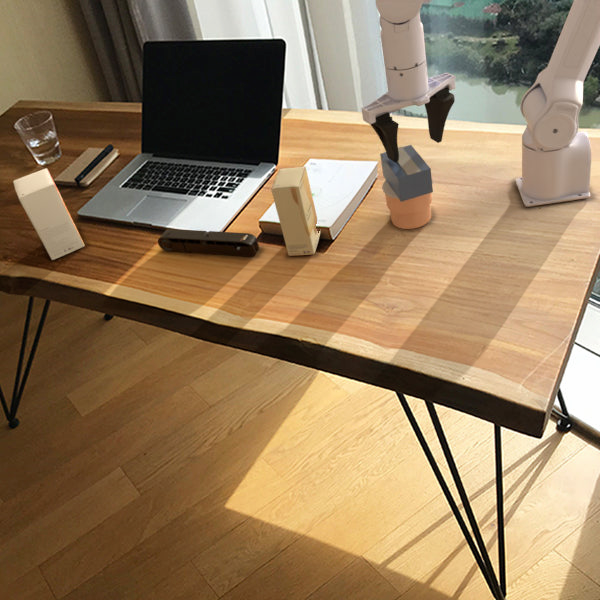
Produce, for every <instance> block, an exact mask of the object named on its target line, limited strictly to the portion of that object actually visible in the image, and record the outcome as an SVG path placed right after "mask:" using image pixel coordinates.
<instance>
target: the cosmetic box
mask: <svg viewBox="0 0 600 600" xmlns="http://www.w3.org/2000/svg"><path fill="white" fill-rule="evenodd" d="M308 175H309V174H308V172H307V167H306V166H296V167H283V168H281V167H280V168H279V169H278V171H277V173H276V176H275V177H274V180H273V183H272V186H271V188H270V190H271V195H272V198H273V202H274V206H275V209H276V213H277V217H278V221H279V224H280V225H279V226H280V229H281V232H282V236H283V239H284V240H283V241H284V244H285V247H286V252H287V255H288V256H289V257H291V256H294V257H295V256H309V255H315V253H316V251H317V247H318V244H319V241H320V236H321V230H320V231H319V233H318V231H317V229H316V224H317V219H318V216H317V211H316V207H315V202H314V198H313V194H312V188H311V184H310V180H309V176H308Z"/></svg>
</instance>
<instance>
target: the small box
mask: <svg viewBox="0 0 600 600" xmlns="http://www.w3.org/2000/svg"><path fill="white" fill-rule="evenodd" d="M13 186H14V190H15V193H16V195H17V197H18V200H19V203H20V205H21V206H22V207H23V209H24V211H25V213H26V215H27V217H28V219H29V221H30V223H31V224H32V226H33V228H34V230H35V232H36V233H37V235H38V237H39V239H40V240H41V242H42V245H43V246H44V248H45V250H46V252H47V254H48V256H49V258H50V259H51V261H54V260H56V259H59V258H61V257H64V256H66V255H68V254H71V253H73V252H75V251H78V250H79V249H82V248H84V247H85V246H86V245H85V243H84V241H83V239H82V236H81V235H80V233H79V230H78V227H76V224H75V223H74V220H73V218H72V215H71V214H70V211H69V210H68V207H67V206H66V204H65V201H64V199H63V197H62V195H61V193H60V191H59V189H58V187H57V185H56V183H55V180H54V179H53V177H52V175H51V173H50V171H49V169H48V168H47V167H46V168H43V169H41V170H38V171H35V172H33V173H30V174H27V175H24V176H22V177H19V178H16V179H14V180H13Z"/></svg>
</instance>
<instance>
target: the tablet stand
mask: <svg viewBox="0 0 600 600" xmlns="http://www.w3.org/2000/svg"><path fill="white" fill-rule="evenodd" d="M157 245H158V246H159V248H160V249H161V250H163V251H165V252H169V253H170V252H171V253H187V254H192V253H195V254H209V255H210V254H211V255H222V256H223V255H224V256H236V257H238V256H239V257H255V256H256V255H257V252H259V250H260V245H259V242H258V237H256V235H254V234H253V233H249V232H234V231H233V232H232V231H216V230H215V231H213V230H209V231H207V230H198V229H197V230H195V229H177V228H176V229H175V228H168V229H165V231H164V232H163V233H162V234H161V235H160V237H159V238H158V239H157Z"/></svg>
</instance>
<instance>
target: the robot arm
mask: <svg viewBox="0 0 600 600" xmlns="http://www.w3.org/2000/svg"><path fill="white" fill-rule="evenodd" d="M428 1H429V0H375V6H376V10H377V12H378V14H379V20H378V21H379V27H380V33H379V35H380V42H381V49H382V57H383V65H384V72H385V80H386V87H387V91H386V92H385V93H384V94H382V95H381V96H379V97H378V98H376V99H375V100H374V101H372V102H370V103H369V104H367V105H365V106H363V107H361V115H362V120H363V121H364V122H365V123H367V124H368V125H370V126H371V128H372V129H373V130H374V132H375V133H376V135H377V136H378V138H379V140H380V142H381V144H382V146H383V148H384V151H385V152H386V153H387V156H388V158H389V159H391V160H392V161H394V162H396V161H398V160H399V152H398V148H399V145H398V132H399V125H400V124H399V123H398V122H396V121H395V120H393V116H391V114H393V113H395V112H398V111H400V110H402V109H404V108H408V107H412V106H417V107H421V106H424V107H425V112H426V116H427V126H428V133H429V138H430V140H432V141H434V142H436V143H437V144H440V143H442V141H443V136H444V131H445V126H446V122H447V118H448V116H449V114H450V111H451V109H452V107H453V105H454V104H455V99H456V98H455V94H453V93H452V92H450V91H453V90H455V89H456V88H457V87H456V76H455V75H454V74H451V73H450V72H445V73H442V74H439V75H435V76H430V77H429V75H428V64H427V63H428V62H427V54H426V44H425V34H424V25H423V23H422V20H421V12H420V11H421V10H422V9H421V8H422V6H423V4H424V3H425V2H428ZM567 14H568V15H567V17H566V20H565V22H564V25H563V27H562V29H561V32H560V35H559V36H558V40H557V42H556V45H555V47H554V49H553V52H552V54H551V57H550V59H549V62H548V65H547V66H546V67H545V68H544V69H542V71H540V72H539V73H538V75H537V76H536V80H535V82H534V83H533V84H532V86H531V87H529V88H528V90H527V91H526V92H525V93H524V94H523V96H522V98H521V101H520V107H519V108H520V112H521V115H522V116H523V118H524V119H525V122H526V127H525V130H524V131H523V133H522V136H521V176H520V177H516V178H515V184H516V187H517V190H518V192H519V195H520V197H521V200H522V202H523V205H524V207H537V206H543V205H548V204H556V203H562V202H569V201H575V200H582V199H583V200H584V199H590V197H591V193H590V185H591V172H592V169H591V168H592V144H591V140H590V137H589V134H588V133H587V131H583V130H581V131H579V125H580V124H579V114H580V111H581V109H582V108H583V107H582V106H583V104H584V103H583V101H584V82H585V79H586V77H587V75H588V72H589V70H590V68H591V66H592V64H593V61H594V59H595V57H596V54H597V52H598V50H599V48H600V0H573V2H572V5H571V7H570V10H569V12H568V13H567Z"/></svg>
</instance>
